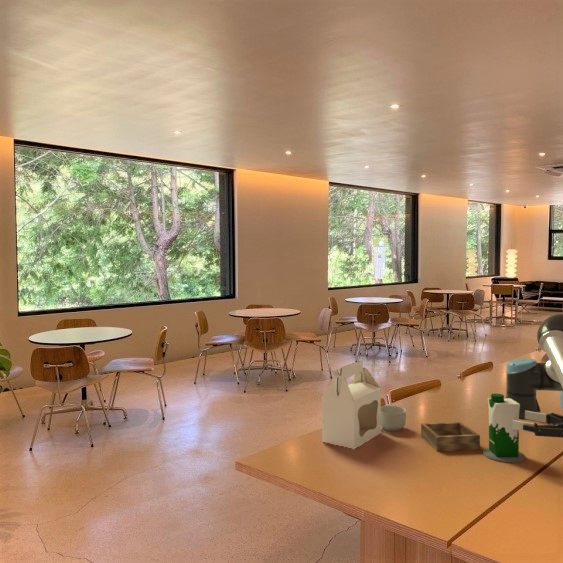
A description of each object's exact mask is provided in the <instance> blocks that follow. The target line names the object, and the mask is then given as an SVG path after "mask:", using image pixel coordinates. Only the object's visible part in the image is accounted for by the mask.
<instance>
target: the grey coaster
mask: <svg viewBox="0 0 563 563" xmlns="http://www.w3.org/2000/svg"><path fill="white" fill-rule="evenodd" d="M482 453H483V454H484V455H485V456H486V457H485V456H484V455H483V456H484V457H485V458H487V457H488V458H487V459H489V458H490V459H489V460H492V461H495V462H499V463H510V464H515V463H521V462H524V461H525V459H526V456H525V454H524V453H523V452H521V451H520V450H519V457H496V456H495V455H494V454H493V453H492V452H491V451H490V450H489V447H485V448H484V449H483V450H482Z"/></svg>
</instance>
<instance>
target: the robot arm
mask: <svg viewBox="0 0 563 563" xmlns="http://www.w3.org/2000/svg"><path fill="white" fill-rule="evenodd" d="M536 334H537V335H536V338H537V339H536V340H537V343H538V346H539V348H540V349H541V350H542V351H543V352H545V353H546V355H547V357H548V360H547V362H537V360H536V359H534V358H516V359H512V360H509V361H508V362H507V363H506V369H505V370H506V371H505V373H506V396H504V398H511V399H512V400H514V401H516V402H517V403H519V404H520V409H519V419H524V420H528V421H535V422H533V423H532V422H526V421H521V420H519V421H516V420H513V429H516V430H519V431H522V432H528V433H532V434H534V436H535V437H545V438H546V437H548V438H563V415H561V414H558V413H555V412H550V413H543V412H542V410H541V406H540V404H539V401H538V399H537V391H545V392H546V391H550V392H551V391H552V392H561V393H560V397H559V399H560V400H559V402H560V406H561V410H562V411H563V313H556V314H553V315H551V316H548V317H547V318H546V319H544V320H543V321H542V322H541V324H540V326H538V330H537V333H536ZM536 422H540V423H541V422H542V423H546V424H538V423H536Z"/></svg>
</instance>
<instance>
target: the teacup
mask: <svg viewBox="0 0 563 563" xmlns="http://www.w3.org/2000/svg"><path fill="white" fill-rule="evenodd" d="M406 419H407V409H406V408H404V407H402V406H399V405H394V404H393V405H391V404H389V405H386V404H385V405H382V406H381V428H383V429H384V430H386V431H388V430H389V431H388V432H399V431H401V429H403V428H404V427H405V425H406Z"/></svg>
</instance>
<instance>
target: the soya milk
mask: <svg viewBox="0 0 563 563" xmlns="http://www.w3.org/2000/svg"><path fill="white" fill-rule="evenodd" d="M487 404H488V448H489V450H490V451H491V452H492V453H493V454H494V455H495V456H496V457H519V451H520V450H519V449H520V448H519V447H520V442H519V441H520V430H516V429H513V420H516V421H520V418H519V409H520V404H519V403H517V402H516V401H514V400H512V399H511V398H505V395H504V394H502V393H491V394H490V397H488V398H487Z"/></svg>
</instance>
